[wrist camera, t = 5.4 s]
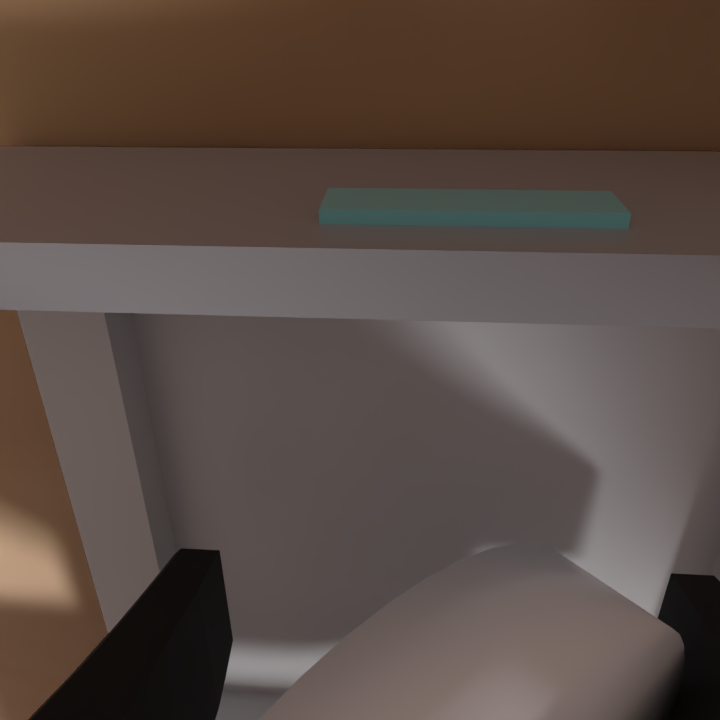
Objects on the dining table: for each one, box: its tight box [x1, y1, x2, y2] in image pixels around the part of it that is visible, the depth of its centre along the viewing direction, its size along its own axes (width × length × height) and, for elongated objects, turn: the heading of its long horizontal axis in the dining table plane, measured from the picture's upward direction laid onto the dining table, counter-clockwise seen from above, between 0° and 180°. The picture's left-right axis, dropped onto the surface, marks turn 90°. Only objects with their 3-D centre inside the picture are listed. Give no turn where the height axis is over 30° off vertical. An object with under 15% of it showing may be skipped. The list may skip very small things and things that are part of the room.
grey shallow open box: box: [0, 146, 720, 720], centre depth 11 cm, size 14×13×4 cm
